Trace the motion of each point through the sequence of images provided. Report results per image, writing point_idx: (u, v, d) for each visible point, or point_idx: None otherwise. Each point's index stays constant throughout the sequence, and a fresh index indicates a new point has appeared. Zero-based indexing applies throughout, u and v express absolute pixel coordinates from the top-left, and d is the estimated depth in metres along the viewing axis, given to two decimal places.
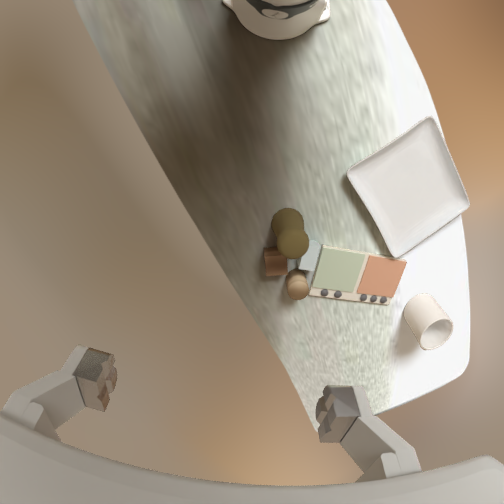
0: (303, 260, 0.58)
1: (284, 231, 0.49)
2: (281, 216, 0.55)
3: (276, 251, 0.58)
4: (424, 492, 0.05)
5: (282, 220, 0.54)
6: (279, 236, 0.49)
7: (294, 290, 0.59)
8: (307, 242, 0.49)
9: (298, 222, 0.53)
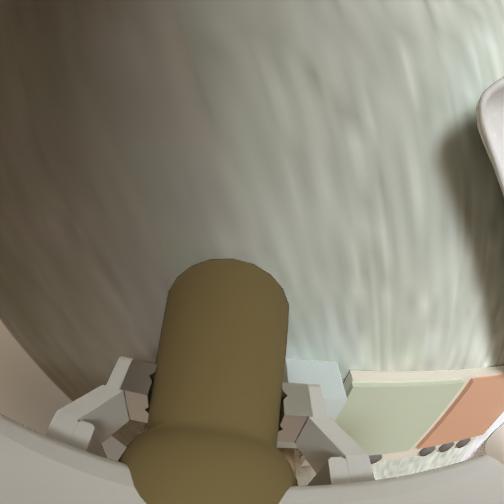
0: None
1: (132, 470, 0.06)
2: (182, 308, 0.12)
3: None
4: (424, 493, 0.05)
5: (177, 338, 0.10)
6: None
7: None
8: None
9: (253, 353, 0.10)
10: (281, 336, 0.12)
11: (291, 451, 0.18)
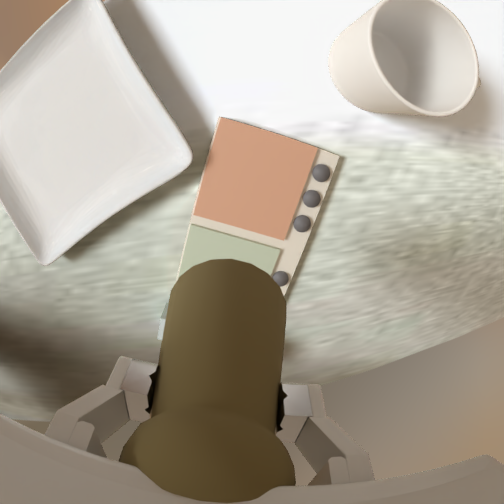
0: None
1: (137, 453, 0.06)
2: (183, 305, 0.12)
3: None
4: (424, 492, 0.05)
5: (179, 332, 0.11)
6: None
7: None
8: None
9: (251, 345, 0.11)
10: (278, 331, 0.13)
11: None
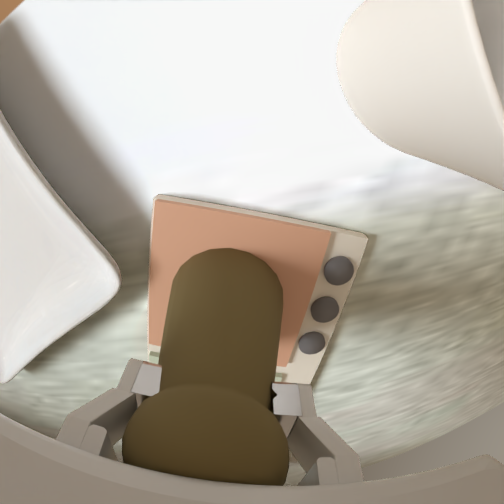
0: None
1: (139, 426, 0.07)
2: (184, 291, 0.13)
3: None
4: (424, 492, 0.05)
5: (180, 316, 0.12)
6: (124, 438, 0.07)
7: None
8: (275, 482, 0.07)
9: (248, 327, 0.11)
10: (274, 315, 0.13)
11: None
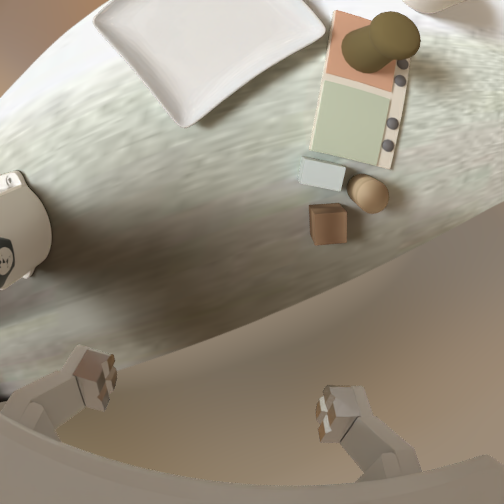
0: (327, 184, 0.36)
1: (380, 14, 0.21)
2: (359, 28, 0.27)
3: (312, 223, 0.39)
4: (424, 493, 0.05)
5: None
6: (374, 20, 0.21)
7: (369, 201, 0.35)
8: (418, 31, 0.21)
9: None
10: None
11: (366, 175, 0.37)
